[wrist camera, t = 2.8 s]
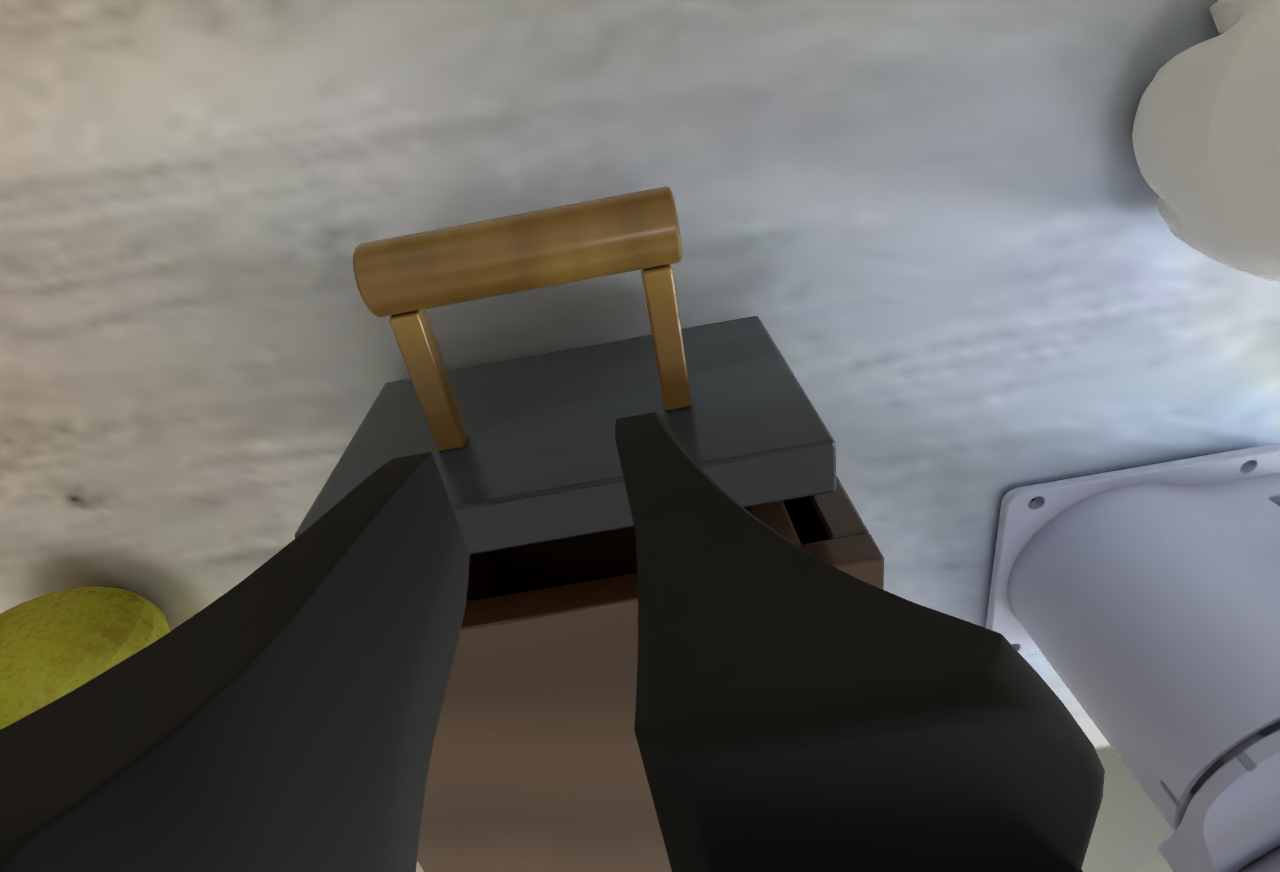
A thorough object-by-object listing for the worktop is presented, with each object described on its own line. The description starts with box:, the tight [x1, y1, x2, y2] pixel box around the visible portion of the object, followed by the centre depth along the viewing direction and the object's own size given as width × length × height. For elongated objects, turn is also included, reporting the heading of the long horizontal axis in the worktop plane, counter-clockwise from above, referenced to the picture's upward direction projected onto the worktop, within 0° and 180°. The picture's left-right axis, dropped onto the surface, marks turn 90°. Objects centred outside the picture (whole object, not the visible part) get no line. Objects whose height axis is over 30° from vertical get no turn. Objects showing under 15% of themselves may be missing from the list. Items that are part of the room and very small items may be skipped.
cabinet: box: [417, 476, 884, 872], centre depth 20 cm, size 14×12×9 cm
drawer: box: [295, 187, 836, 602], centre depth 18 cm, size 17×10×7 cm, turn 9°
